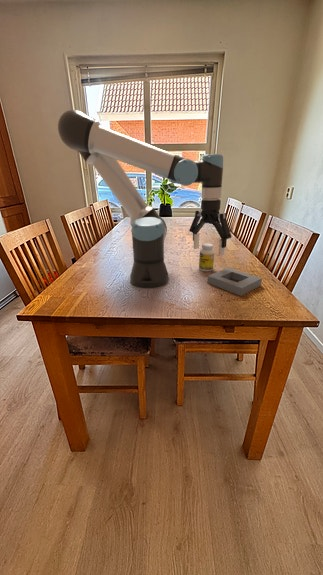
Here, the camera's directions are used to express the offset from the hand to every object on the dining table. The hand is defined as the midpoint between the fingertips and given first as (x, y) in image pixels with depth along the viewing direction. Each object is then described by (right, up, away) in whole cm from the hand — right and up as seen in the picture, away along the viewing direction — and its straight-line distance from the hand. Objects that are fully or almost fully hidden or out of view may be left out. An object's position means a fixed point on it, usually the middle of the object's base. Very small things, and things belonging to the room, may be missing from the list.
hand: (208, 251), depth 106 cm
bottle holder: (+8, -14, -11) cm, 20 cm away
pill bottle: (0, -7, +4) cm, 8 cm away
